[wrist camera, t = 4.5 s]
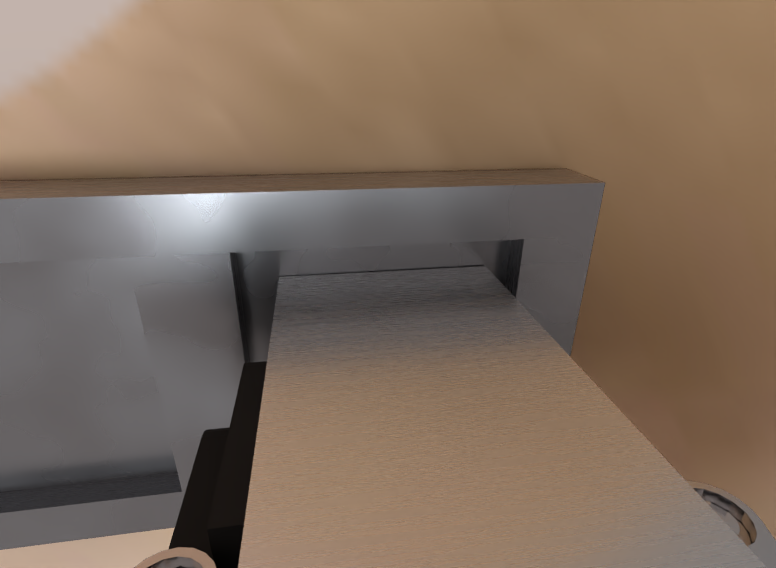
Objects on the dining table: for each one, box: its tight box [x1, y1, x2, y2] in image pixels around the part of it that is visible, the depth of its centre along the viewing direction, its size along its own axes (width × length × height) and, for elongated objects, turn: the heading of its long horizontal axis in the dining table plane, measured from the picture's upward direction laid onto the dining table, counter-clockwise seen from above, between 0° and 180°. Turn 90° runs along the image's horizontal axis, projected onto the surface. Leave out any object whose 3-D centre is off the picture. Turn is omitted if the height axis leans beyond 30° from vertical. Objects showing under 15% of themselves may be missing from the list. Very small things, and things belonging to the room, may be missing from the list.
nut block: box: [238, 266, 767, 568], centre depth 9 cm, size 5×5×8 cm
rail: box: [0, 169, 605, 550], centre depth 11 cm, size 27×9×2 cm, turn 89°
